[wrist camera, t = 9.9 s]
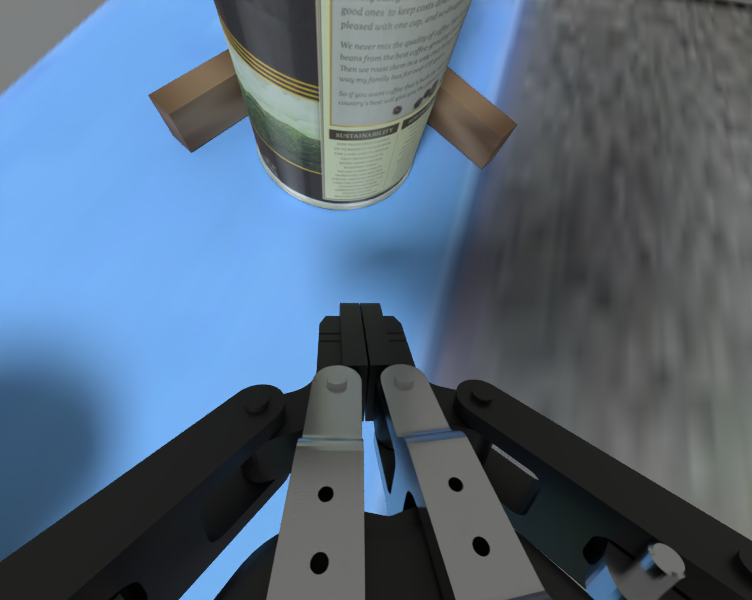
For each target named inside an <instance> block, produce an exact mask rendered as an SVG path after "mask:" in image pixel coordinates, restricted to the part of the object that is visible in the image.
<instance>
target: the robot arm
mask: <svg viewBox="0 0 752 600" xmlns="http://www.w3.org/2000/svg"><path fill="white" fill-rule="evenodd" d="M364 412H365V421H374V428H375V433H374V447H375V452H376V457H377V461H378V466H379V471H380V475H381V480H382V485H383V490H384V494H385V499H386V506H387V516H383V515H378V514H373V513H368V512H364V447H363V439H362V421H364ZM493 444H494V445H496V446H497V447H498V448H500V449H501V450H503V451H504V452H505V453H507V454H508V455H510V456H511V457H512V458H514V459H515V460H517V461H518V462H519V463H521V464H522V465H524V466H525V467H526V468H528V469H529V470H530V471H532V472H533V473H534V474H535V475H536V476H537V478H538V479H539V480H537V479H534V478H533V477H531V476H530V475H528V474H527V473H525V472H524V471H523V470H521V469H520V468H519V467H517V466H516V465H514V464H513V463H512V462H510V461H509V460H508V459H506V458H505V457H503V456H502V455H501V454H499V453H498V452H497V451H495V450H494V449H492V448H491V447H492V445H493ZM290 473H291V476H290V481H289V486H288V491H287V496H286V501H285V506H284V511H283V516H282V522H281V527H280V532H279V534H277V535H275V536H274V537H272V538H271V539H269V540H268V541H266V542H265V543H264V544H263V545H261V546H260V547H259V548H258V549H257V550H255V551H254V552H253V553H252V554H251V555H250V556H249V557H248V558H247V559H246V560H245V561H244V562H243V564H242V565H241V566H240V567H239V568H238V570H237V571H236V572H235V573H234V575H233V576H232V577H231V578H230V580H229V581H228V582H227V583H226V585H225V586H224V587H223V589H222V590H221V591H220V592H219V594H218V595H217V596H216V597H215V599H214V600H752V541H751V540H749V539H748V538H746V537H744V536H743V535H741V534H739V533H738V532H736V531H735V530H733V529H731V528H730V527H728V526H726V525H725V524H723V523H721V522H720V521H718V520H716V519H715V518H713V517H711V516H710V515H708V514H706V513H705V512H703V511H701V510H700V509H698V508H696V507H695V506H693V505H691V504H690V503H688V502H686V501H685V500H683V499H681V498H680V497H678V496H676V495H675V494H673V493H671V492H670V491H668V490H666V489H665V488H663V487H661V486H660V485H658V484H656V483H655V482H653V481H651V480H650V479H648V478H646V477H645V476H643V475H641V474H640V473H638V472H636V471H635V470H633V469H631V468H630V467H628V466H626V465H625V464H623V463H621V462H620V461H618V460H616V459H615V458H613V457H611V456H610V455H608V454H606V453H605V452H603V451H601V450H600V449H598V448H596V447H595V446H593V445H591V444H590V443H588V442H586V441H585V440H583V439H581V438H580V437H578V436H576V435H575V434H573V433H571V432H570V431H568V430H566V429H565V428H563V427H561V426H560V425H558V424H556V423H555V422H553V421H551V420H550V419H548V418H546V417H545V416H543V415H541V414H540V413H538V412H536V411H535V410H533V409H531V408H530V407H528V406H526V405H525V404H523V403H521V402H520V401H518V400H516V399H515V398H513V397H511V396H510V395H508V394H506V393H505V392H503V391H501V390H500V389H498V388H496V387H495V386H493V385H491V384H489V383H487V382H484V381H481V380H466V381H464V382H462V383H460V384H459V385H458V387H457V390H453V389H449V388H444V387H440V386H436V385H434V384H431V383H430V382H428V380H427V378H426V376H425V375H424V374H423V372H421V371H420V370H419V369H417V368H416V367H415V364H414V361H413V358H412V355H411V352H410V349H409V346H408V343H407V342H406V337H405V334H404V331H403V328H402V325H401V323H400V322H399V321H398V320H397V319H396V318H395V317H394V316H383V314H382V310H381V306H380V303H360V305H359V303H340V315H339V316H325V318H324V319H323V320H322V321H321V323H320V325H319V343H318V358H317V372H316V375H315V376H314V378H313V380H312V381H311V383H309V384H308V385H307V386H305V387H304V388H302V389H299V390H297V391H294V392H290V393H286V394H283V393H282V391H281V390H280V389H278V388H276V387H274V386H271V385H263V384H261V385H254V386H250V387H248V388H245V389H243V390H241V391H240V392H238V393H237V394H236V395H234V396H233V397H231V398H230V399H228V400H227V401H226V402H224V403H223V404H221V405H220V406H219V407H217V408H216V409H214V410H213V411H212V412H210V413H209V414H207V415H206V416H205V417H203V418H202V419H200V420H199V421H198V422H196V423H195V424H193V425H192V426H191V427H189V428H188V429H186V430H185V431H184V432H182V433H181V434H179V435H178V436H177V437H175V438H174V439H172V440H171V441H170V442H168V443H167V444H165V445H164V446H163V447H161V448H160V449H158V450H157V451H156V452H154V453H153V454H151V455H150V456H149V457H147V458H146V459H144V460H143V461H142V462H140V463H139V464H137V465H136V466H134V467H133V468H132V469H130V470H129V471H127V472H126V473H125V474H123V475H122V476H120V477H119V478H118V479H116V480H115V481H113V482H112V483H111V484H109V485H108V486H106V487H105V488H104V489H102V490H101V491H99V492H98V493H97V494H95V495H94V496H92V497H91V498H90V499H88V500H87V501H85V502H84V503H83V504H81V505H80V506H78V507H77V508H76V509H74V510H73V511H71V512H70V513H69V514H67V515H66V516H64V517H63V518H62V519H60V520H59V521H57V522H56V523H55V524H53V525H52V526H50V527H49V528H48V529H46V530H45V531H43V532H42V533H40V534H39V535H38V536H36V537H35V538H33V539H32V540H31V541H29V542H28V543H26V544H25V545H24V546H22V547H21V548H19V549H18V550H17V551H15V552H14V553H12V554H11V555H10V556H8V557H7V558H5V559H4V560H3V561H1V562H0V600H179V599H180V598H181V596H182V595H183V594H184V593H185V592H186V591H187V590H188V589H189V588H190V587H191V585H192V584H193V583H194V582H195V581H196V580H197V579H198V578H199V577H200V575H201V574H202V573H203V572H204V571H205V570H206V569H207V568H208V567H209V565H210V564H211V563H212V562H213V561H214V560H215V559H216V558H217V557H218V555H219V554H220V553H221V552H222V551H223V550H224V549H225V548H226V547H227V545H228V544H229V543H230V542H231V541H232V540H233V539H234V538H235V537H236V536H237V534H238V533H239V532H240V531H241V530H242V529H243V528H244V527H245V526H246V524H247V523H248V522H249V521H250V520H251V519H252V518H253V517H254V516H255V514H256V513H257V512H258V511H259V510H260V509H261V508H262V507H263V506H264V504H265V503H266V502H267V501H268V500H269V499H270V498H271V497H272V496H273V494H274V493H275V492H276V491H277V490H278V489H279V488H280V487H281V486H282V484H283V483H284V482H285V481H286V479H287V478H288V476H289V474H290ZM513 528H514V529H513ZM515 529H516V530H517V531H518V532H517V531H516V530H515ZM536 547H537V548H538V549H537V548H536ZM542 552H543V553H544V554H545V555H546V556H547V557H546V556H545V555H544V554H543V553H542ZM549 558H550V559H551V560H552V561H553V562H554V563H555V564H557V565H558V566H559V567H560V568H561V569H563V570H564V571H565V572H566V573H567V574H568V575H570V576H571V577H572V578H573V579H574V580H575V581H577V582H578V583H579V584H580V585H581V586H582V587H584V588H585V589H586V590H587V592H586V591H584V590H583V589H582V588H581V587H580V586H579V585H578V584H577V583H575V582H574V581H573V580H572V579H571V578H570V577H569V576H568V575H567V574H565V573H564V572H563V571H562V570H561V569H560V568H559V567H558V566H556V565H555V564H554V563H553V562H552V561H551V560H550V559H549Z"/></svg>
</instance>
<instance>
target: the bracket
mask: <svg viewBox="0 0 752 600" xmlns="http://www.w3.org/2000/svg"><path fill="white" fill-rule="evenodd" d="M148 96H149V97H150V99H151V101H152V102H153V104H154V105H155V107H156V109H157V110H158V112H159V113H160V115H161V117H162V118H163V120H164V122H165V123H166V125H167V126H168V128H169V130H170V131H171V133H172V134H173V136H174V137H175V138H176V139H177V140H178V141H179V142H180V143H182V144H183V145H184V146H185V147H186V148H187V149H188V150H189V151H190V152H191V153H192V152H193V151H195V150H196V149H198V148H199V147H201V146H202V145H204V144H205V143H207V142H208V141H210V140H211V139H213V138H214V137H216V136H217V135H219V134H220V133H222V132H223V131H225V130H226V129H228V128H229V127H231V126H232V125H234V124H235V123H237V122H238V121H240V120H241V119H243V118H244V117H246V116H247V115H248V112H247V108H246V105H245V102H244V98H243V95H242V91H241V88H240V85H239V81H238V78H237V75H236V71H235V68H234V65H233V61H232V58H231V55H230V52H229V49H227V50H226V51H224V52H222V53H220V54H219V55H217V56H215V57H214V58H212V59H210V60H208V61H207V62H205V63H203V64H201V65H200V66H198V67H196V68H194V69H193V70H191V71H189V72H188V73H186V74H184V75H182V76H181V77H179V78H177V79H175V80H174V81H172V82H170V83H168V84H167V85H165V86H163V87H162V88H160V89H158V90H156V91H155V92H153V93H151V94H149V95H148ZM427 123H428V124H429V125H430V126H431V127H433V128H434V129H435V130H436V131H437V132H438V133H440V134H441V135H442V136H443V137H444V138H445V139H447V140H448V141H449V142H450V143H451V144H453V145H454V146H455V147H456V148H457V149H458V150H460V151H461V152H462V153H463V154H464V155H465V156H467V157H468V158H469V159H470V160H471V161H472V162H474V163H475V164H476V165H477V166H478V167H479V168H481V169H482V168H483V167H484V166H486V165H487V164H488V163H489V162H490V161H491V160H492V159H493V158H494V157H495V155H496V154H497V153H498V151H499V150H500V148H501V147H502V146H503V144H504V143H505V141H506V140H507V138H508V137H509V136H510V134H511V133H512V131H513V130H514V129H515V127H516V126H517V124H516V123H515V122H514V121H513V120H511V119H510V118H509V117H508V116H507V115H505V114H504V113H503V112H502V111H500V110H499V109H498V108H497V107H496V106H494V105H493V104H492V103H491V102H490V101H488V100H487V99H486V98H485V97H484V96H482V95H481V94H480V93H479V92H478V91H476V90H475V89H474V88H473V87H471V86H470V85H469V84H468V83H467V82H465V81H464V80H463V79H462V78H461V77H459V76H458V75H457V74H456V73H455V72H453V71H452V70H451V69H450V68H448V67H447V68H446V71H445V74H444V77H443V80H442V83H441V85H440V88H439V90H438V93H437V96H436V98H435V101H434V104H433V107H432V110H431V112H430V115H429V118H428V120H427Z"/></svg>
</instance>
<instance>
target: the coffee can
mask: <svg viewBox="0 0 752 600" xmlns="http://www.w3.org/2000/svg"><path fill="white" fill-rule="evenodd" d="M471 1H472V0H214V3H215V6H216V9H217V13H218V16H219V19H220V22H221V25H222V29H223V32H224V35H225V39H226V42H227V45H228V49H229V52H230V55H231V58H232V61H233V65H234V68H235V71H236V75H237V78H238V81H239V85H240V88H241V91H242V95H243V98H244V102H245V105H246V108H247V112H248V115H249V119H250V122H251V125H252V129H253V132H254V135H255V139H256V145H257V150H258V154H259V157H260V159H261V161H262V164H263V166H264V168H265V169H266V171H267V172H268V174H269V175H270V177H271V178H272V179H273V180H274V181H275V182H276V183H277V184H278V185H279V186H280V187H281V188H282V189H283V190H285V191H286V192H287V193H289V194H290V195H292V196H294V197H295V198H297V199H299V200H301V201H303V202H306V203H308V204H311V205H314V206H317V207H321V208H325V209H332V210H351V209H358V208H363V207H367V206H370V205H373V204H375V203H378V202H380V201H382V200H384V199H386V198H387V197H389V196H390V195H391V194H393V193H394V192H395V191H396V190H397V189H398V188H399V187H400V186H401V185H402V184H403V182H404V181H405V179H406V178H407V177H408V175H409V173H410V170H411V168H412V165H413V162H414V157H415V153H416V150H417V148H418V145H419V142H420V140H421V137H422V134H423V131H424V128H425V126H426V123H427V120H428V118H429V115H430V112H431V110H432V107H433V104H434V101H435V98H436V96H437V93H438V90H439V88H440V85H441V83H442V80H443V77H444V74H445V71H446V68H447V66H448V63H449V60H450V58H451V55H452V52H453V49H454V47H455V44H456V41H457V38H458V36H459V33H460V30H461V27H462V25H463V22H464V19H465V17H466V14H467V11H468V9H469V6H470V3H471Z"/></svg>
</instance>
